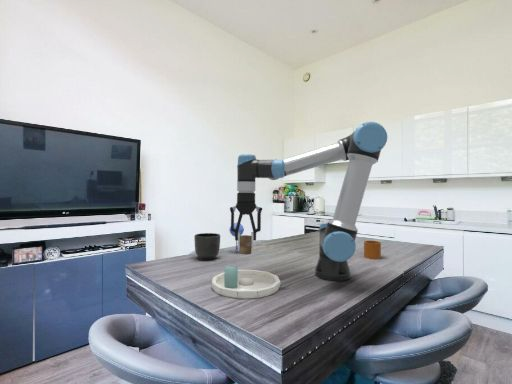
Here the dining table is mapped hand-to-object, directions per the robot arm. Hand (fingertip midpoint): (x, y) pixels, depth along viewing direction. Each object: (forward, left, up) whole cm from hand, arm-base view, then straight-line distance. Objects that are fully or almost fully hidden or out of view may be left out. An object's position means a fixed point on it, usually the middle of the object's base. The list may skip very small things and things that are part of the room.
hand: (245, 248), depth 114 cm
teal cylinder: (0, +11, -12) cm, 17 cm away
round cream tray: (-3, +6, -13) cm, 15 cm away
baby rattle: (+29, -43, -14) cm, 54 cm away
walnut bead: (0, 0, -2) cm, 2 cm away
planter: (+36, -23, -14) cm, 45 cm away
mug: (-46, -70, -14) cm, 85 cm away
